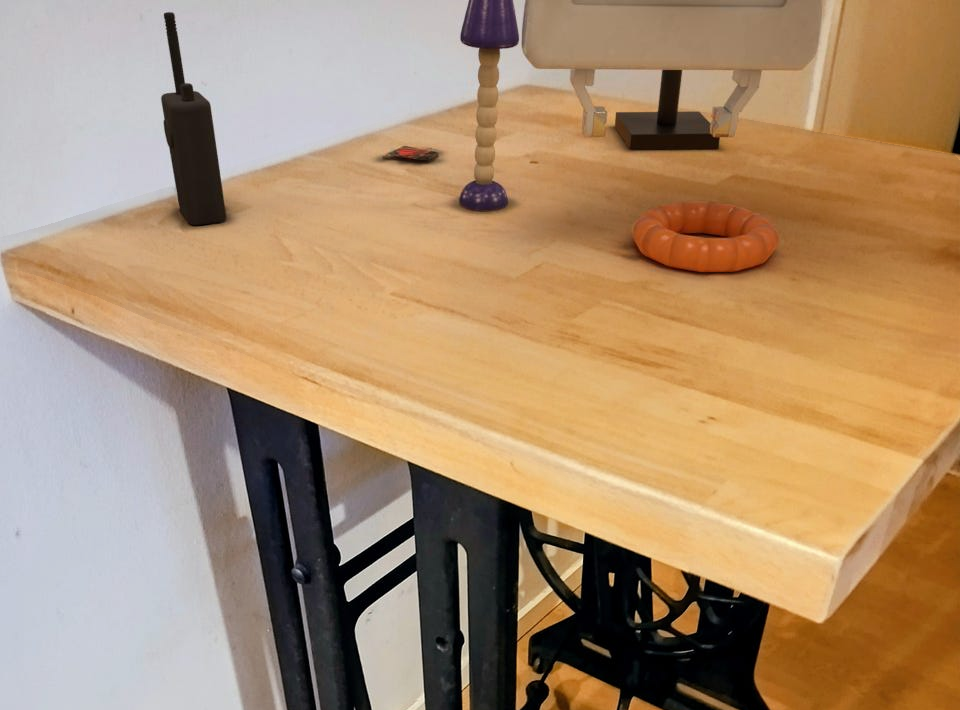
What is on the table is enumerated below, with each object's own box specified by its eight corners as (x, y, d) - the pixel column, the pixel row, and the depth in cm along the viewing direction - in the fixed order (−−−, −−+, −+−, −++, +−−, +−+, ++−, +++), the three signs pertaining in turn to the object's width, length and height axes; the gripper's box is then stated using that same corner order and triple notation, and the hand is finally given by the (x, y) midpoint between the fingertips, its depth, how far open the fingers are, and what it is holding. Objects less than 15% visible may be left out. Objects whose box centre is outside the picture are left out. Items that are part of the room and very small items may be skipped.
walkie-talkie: (228, 221, 84) (200, 18, 75) (187, 227, 83) (153, 21, 74) (214, 204, 87) (185, 8, 78) (174, 210, 86) (140, 11, 77)
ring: (751, 226, 84) (756, 196, 82) (792, 275, 75) (798, 243, 74) (621, 228, 83) (624, 198, 82) (647, 278, 75) (650, 245, 73)
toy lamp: (516, 197, 90) (522, -19, 80) (512, 214, 86) (518, -10, 76) (462, 195, 90) (461, -20, 80) (456, 212, 86) (454, -12, 76)
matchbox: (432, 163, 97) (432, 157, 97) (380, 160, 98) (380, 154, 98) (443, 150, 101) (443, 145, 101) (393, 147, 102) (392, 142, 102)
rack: (697, 126, 110) (715, -17, 102) (718, 149, 103) (739, -3, 95) (614, 126, 109) (626, -17, 101) (629, 150, 102) (643, -3, 94)
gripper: (825, -92, 69) (785, 124, 77) (523, -97, 68) (515, 124, 76) (858, -83, 64) (812, 147, 72) (533, -88, 62) (523, 147, 71)
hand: (657, 135), depth 74 cm, fingers open, 8 cm apart
